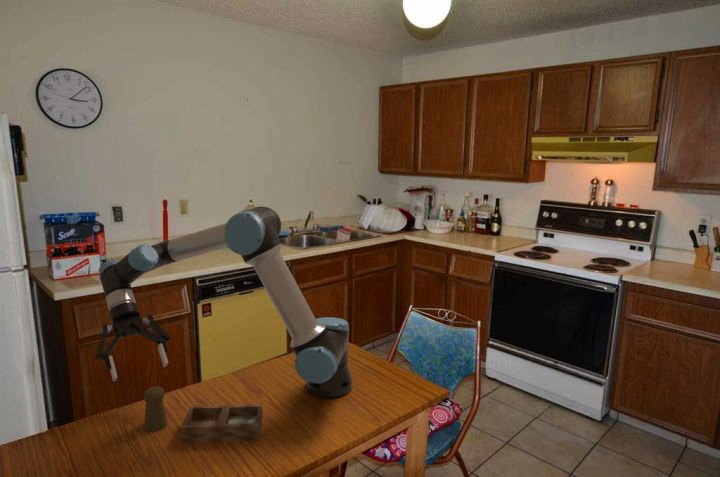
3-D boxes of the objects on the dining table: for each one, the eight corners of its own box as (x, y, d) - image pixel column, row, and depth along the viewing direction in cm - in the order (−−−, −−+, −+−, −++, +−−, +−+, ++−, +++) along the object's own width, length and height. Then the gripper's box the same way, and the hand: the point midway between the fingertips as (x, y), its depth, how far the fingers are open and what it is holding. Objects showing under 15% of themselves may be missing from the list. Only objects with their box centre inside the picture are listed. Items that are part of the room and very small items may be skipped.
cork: (158, 433, 122) (156, 396, 120) (138, 430, 123) (136, 393, 121) (172, 420, 128) (170, 385, 126) (153, 417, 129) (151, 382, 127)
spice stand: (262, 418, 130) (262, 404, 130) (259, 440, 121) (258, 425, 120) (190, 421, 128) (190, 406, 127) (181, 443, 118) (180, 427, 118)
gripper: (162, 305, 148) (182, 364, 140) (74, 322, 131) (90, 390, 123) (167, 293, 143) (188, 354, 135) (76, 310, 126) (93, 380, 118)
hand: (141, 372), depth 129 cm, fingers open, 13 cm apart
